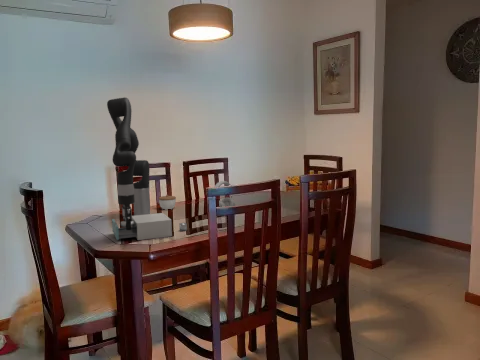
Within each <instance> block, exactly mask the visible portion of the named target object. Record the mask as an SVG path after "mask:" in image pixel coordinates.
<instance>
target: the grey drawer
mask: <svg viewBox="0 0 480 360" xmlns="http://www.w3.org/2000/svg"><path fill="white" fill-rule="evenodd" d="M111 229H112V233H113V235H114V237H115V239H116V240H117V241H118V240H121V239H128V238H136V237H137V226H136V227H132V226H131V230H126V227H119V226H118V224H117V221H116V219H115V218H112V219H111Z"/></svg>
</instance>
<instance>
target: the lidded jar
mask: <svg viewBox="0 0 480 360" xmlns="http://www.w3.org/2000/svg"><path fill="white" fill-rule="evenodd" d="M176 201H177V200H176V196H174V195H169V194H166V195H162V196H159V197H158V202H159V206H160V208H161V209H162V210H163V209H165V210H164V211H168V210H167V209H171V210H173V209H174V207H175V206H176Z"/></svg>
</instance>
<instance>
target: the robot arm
mask: <svg viewBox="0 0 480 360" xmlns="http://www.w3.org/2000/svg"><path fill="white" fill-rule="evenodd" d="M106 103H107V104H106V107H107V110H108V113H109V116H110V118H111V120H112V122H113V126H114V127H115V130H116V131H115V134H114V135H115V136H114V138H115V139H114V140H115V141H114V142H115V147H114V148H115V149H114V152H113V155H112V163H113V165H115V166H116V167H117V168H118V167H119V168H120V167H128V168H127V169H126V170H123V171H122V170H121V171H119V172H118V173H117V202H118V203H117V204H119V205H121V211H122V214H121V215H122V217H123V218H122V219H123V221H125V222H126V227H125V228H126V230H131V227H132V226H131V221H132V216H135V215H146V214H151V198H150V197H151V196H150V195H151V194H150V162H149V161H148V160H147V159H146V160H145V159H141V160H138V159H137V155H136V153H137V150H138V148H139V145H140V143H139V138H138V136H137V133H136V131H134V129H133V128H132V127H131V124H132V105H131V101H130V99H129V98H127V97H119V98H117V97H116V98H113V99H109V100H108V101H107V102H106ZM121 117H123V118H122V119H121ZM134 177H141V179H140V180H138V181H136V182H134ZM131 205H133V208H132V207H131ZM132 209H133V210H132ZM132 211H133V215H132Z"/></svg>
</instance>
